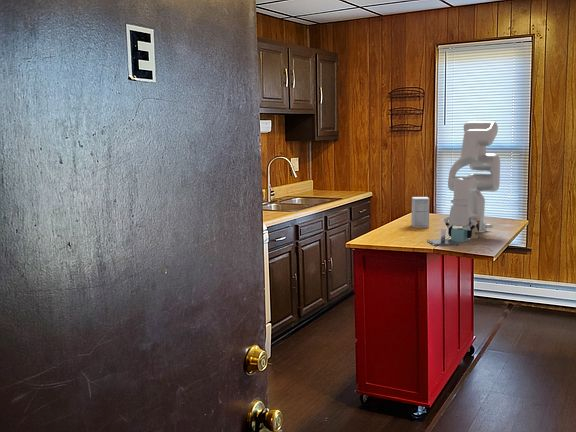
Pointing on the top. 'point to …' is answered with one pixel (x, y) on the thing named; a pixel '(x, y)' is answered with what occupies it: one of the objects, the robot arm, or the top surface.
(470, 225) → the robot arm
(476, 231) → the coffee cup
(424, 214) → the supplement box
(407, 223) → the top surface
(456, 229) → the collar
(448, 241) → the shaft stand
